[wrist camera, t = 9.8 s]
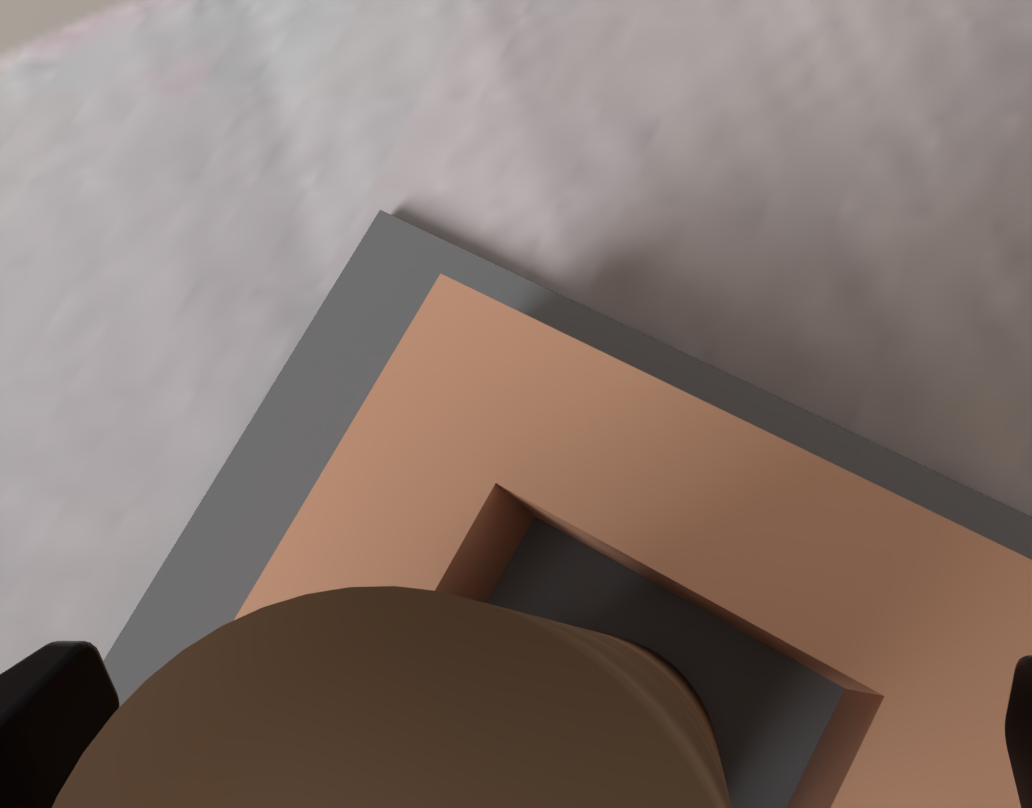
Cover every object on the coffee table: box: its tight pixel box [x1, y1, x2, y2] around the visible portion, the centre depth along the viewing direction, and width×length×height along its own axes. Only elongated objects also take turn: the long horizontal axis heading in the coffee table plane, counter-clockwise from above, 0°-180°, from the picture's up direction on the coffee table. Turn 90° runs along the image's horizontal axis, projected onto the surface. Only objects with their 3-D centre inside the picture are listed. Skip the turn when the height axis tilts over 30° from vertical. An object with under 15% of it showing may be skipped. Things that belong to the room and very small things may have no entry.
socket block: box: [234, 273, 1032, 808], centre depth 14 cm, size 11×11×4 cm
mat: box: [103, 210, 1032, 808], centre depth 16 cm, size 18×14×1 cm
